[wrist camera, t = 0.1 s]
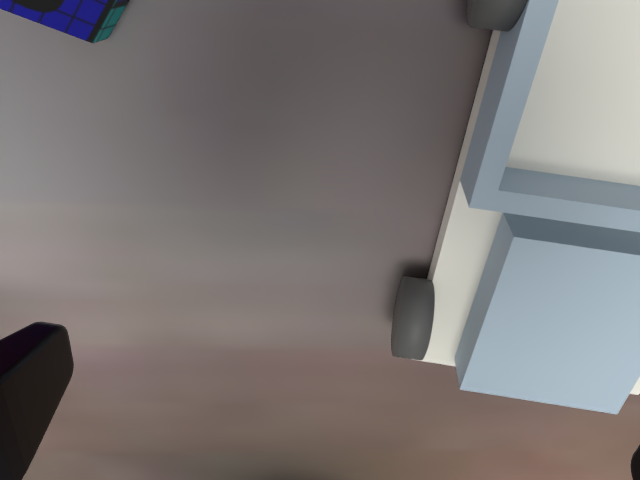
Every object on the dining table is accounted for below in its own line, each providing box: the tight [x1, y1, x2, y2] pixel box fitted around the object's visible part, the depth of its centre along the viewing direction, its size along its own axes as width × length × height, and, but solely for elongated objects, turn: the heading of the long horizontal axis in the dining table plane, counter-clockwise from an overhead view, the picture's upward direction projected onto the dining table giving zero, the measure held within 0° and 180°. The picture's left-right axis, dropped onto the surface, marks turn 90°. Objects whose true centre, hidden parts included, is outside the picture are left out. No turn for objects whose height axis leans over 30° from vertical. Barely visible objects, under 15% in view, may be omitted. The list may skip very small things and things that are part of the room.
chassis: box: [391, 0, 640, 414], centre depth 19 cm, size 20×13×4 cm
